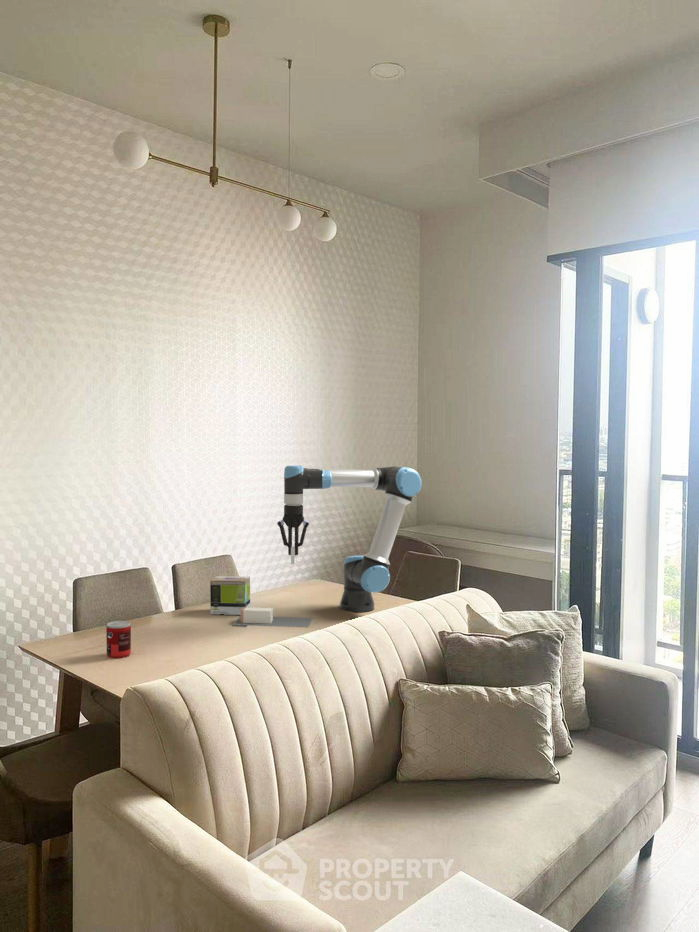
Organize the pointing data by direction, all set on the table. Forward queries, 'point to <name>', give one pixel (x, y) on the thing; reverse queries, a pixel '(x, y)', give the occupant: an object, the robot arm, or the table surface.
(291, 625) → the rubber mat
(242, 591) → the tea box
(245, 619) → the cream block
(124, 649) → the canned food
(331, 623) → the table surface
